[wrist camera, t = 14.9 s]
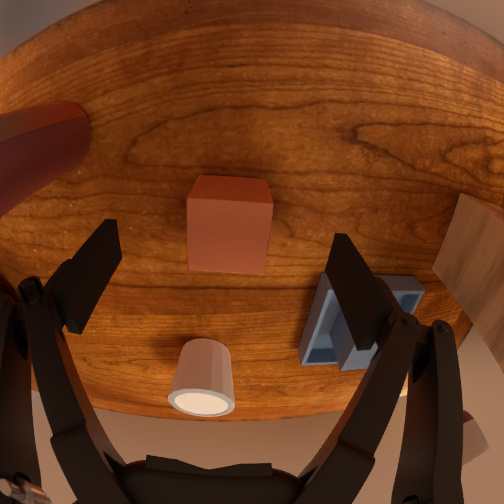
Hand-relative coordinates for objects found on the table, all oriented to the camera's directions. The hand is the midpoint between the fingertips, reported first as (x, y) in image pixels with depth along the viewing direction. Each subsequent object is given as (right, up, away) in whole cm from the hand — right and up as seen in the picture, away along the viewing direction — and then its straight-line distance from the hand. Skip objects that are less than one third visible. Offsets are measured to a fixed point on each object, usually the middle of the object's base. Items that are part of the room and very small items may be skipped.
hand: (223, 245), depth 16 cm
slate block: (+13, -8, +11) cm, 19 cm away
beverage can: (-13, +9, +1) cm, 16 cm away
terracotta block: (0, +3, +5) cm, 6 cm away
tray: (+13, -7, +12) cm, 19 cm away
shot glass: (-4, -12, +14) cm, 19 cm away
